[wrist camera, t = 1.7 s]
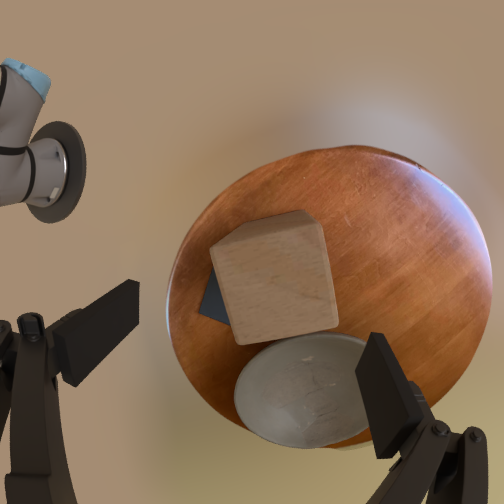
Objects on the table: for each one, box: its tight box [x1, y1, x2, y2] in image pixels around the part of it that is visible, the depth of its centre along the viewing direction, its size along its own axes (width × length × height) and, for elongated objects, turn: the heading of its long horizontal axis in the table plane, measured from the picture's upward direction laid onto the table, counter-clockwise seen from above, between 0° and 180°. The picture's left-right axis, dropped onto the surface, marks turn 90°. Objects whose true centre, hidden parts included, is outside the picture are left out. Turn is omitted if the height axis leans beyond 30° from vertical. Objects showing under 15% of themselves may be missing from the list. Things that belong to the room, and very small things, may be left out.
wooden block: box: [210, 210, 339, 345], centre depth 34 cm, size 10×10×20 cm
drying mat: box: [199, 266, 231, 325], centre depth 47 cm, size 10×10×1 cm
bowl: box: [234, 331, 369, 449], centre depth 45 cm, size 27×28×8 cm
